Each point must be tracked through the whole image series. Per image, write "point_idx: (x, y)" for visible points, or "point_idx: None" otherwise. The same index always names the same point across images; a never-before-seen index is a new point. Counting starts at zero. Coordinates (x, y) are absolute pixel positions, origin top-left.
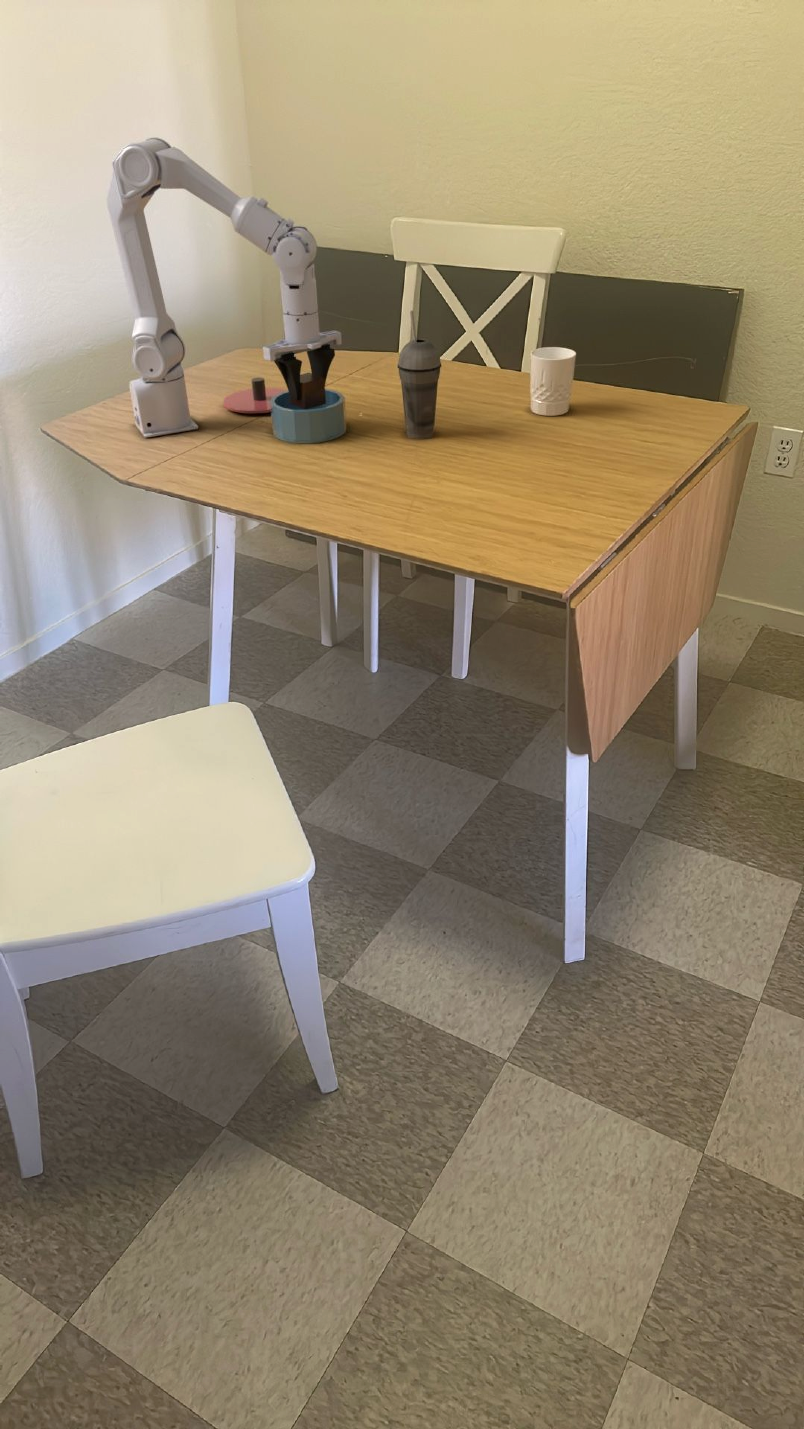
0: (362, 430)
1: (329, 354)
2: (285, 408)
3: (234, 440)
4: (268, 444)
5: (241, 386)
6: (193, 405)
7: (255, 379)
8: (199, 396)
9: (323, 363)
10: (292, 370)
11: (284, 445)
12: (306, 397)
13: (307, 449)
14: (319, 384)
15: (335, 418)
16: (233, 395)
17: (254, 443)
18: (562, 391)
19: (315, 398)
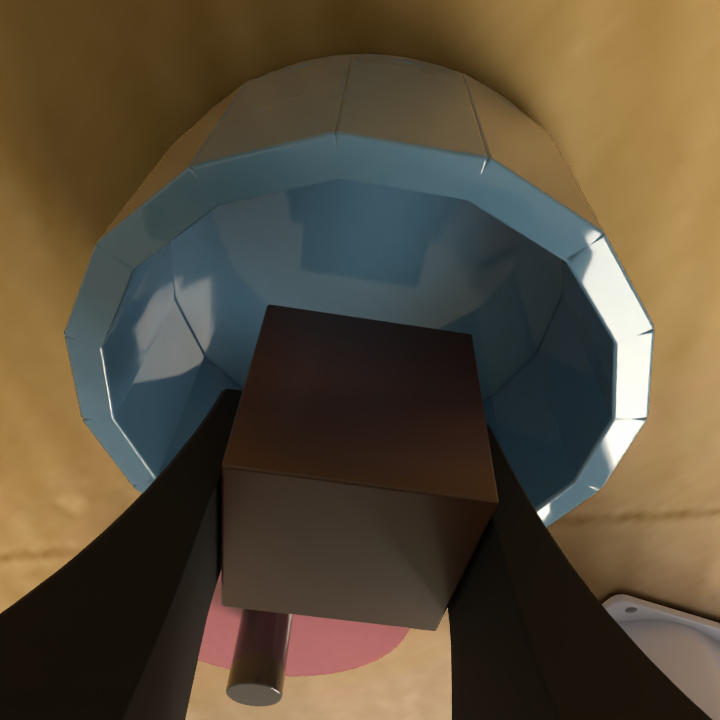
0: (107, 9)
1: (37, 707)
2: (622, 406)
3: (673, 455)
4: (665, 315)
5: (199, 687)
6: (420, 686)
7: (262, 698)
8: (349, 705)
9: (166, 613)
10: (662, 678)
11: (645, 239)
12: (457, 392)
13: (658, 61)
14: (296, 433)
15: (353, 91)
16: (309, 668)
17: (677, 374)
18: None
19: (366, 358)
